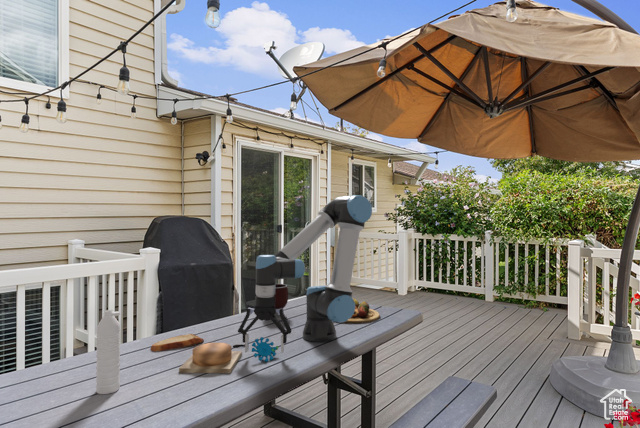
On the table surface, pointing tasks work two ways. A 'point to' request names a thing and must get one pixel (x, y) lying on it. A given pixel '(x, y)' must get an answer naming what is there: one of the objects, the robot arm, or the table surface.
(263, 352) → the gear
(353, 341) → the table surface
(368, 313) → the wooden plate with food
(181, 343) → the slice of bread
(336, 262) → the robot arm
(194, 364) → the bread on wooden board
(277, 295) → the mate gourd
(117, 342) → the water bottle
